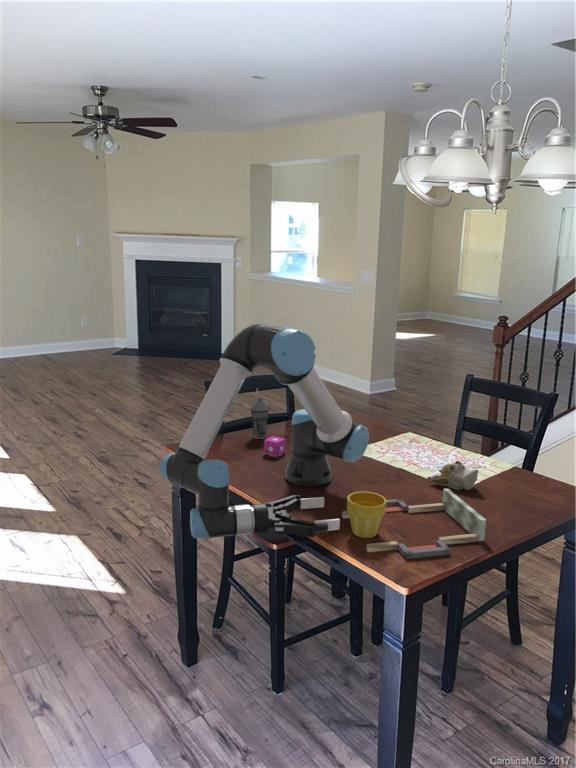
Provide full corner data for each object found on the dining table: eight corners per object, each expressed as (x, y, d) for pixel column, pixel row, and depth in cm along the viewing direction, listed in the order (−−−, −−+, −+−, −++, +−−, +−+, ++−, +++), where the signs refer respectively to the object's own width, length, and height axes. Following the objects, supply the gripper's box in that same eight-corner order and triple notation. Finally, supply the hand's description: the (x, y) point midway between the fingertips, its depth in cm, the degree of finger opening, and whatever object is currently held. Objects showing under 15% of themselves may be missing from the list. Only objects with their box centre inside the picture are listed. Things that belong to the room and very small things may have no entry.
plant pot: (380, 523, 171) (382, 490, 169) (387, 541, 161) (389, 507, 159) (343, 523, 171) (345, 490, 169) (348, 541, 161) (349, 506, 159)
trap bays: (362, 506, 182) (362, 502, 182) (400, 503, 185) (400, 498, 184) (405, 559, 153) (406, 553, 152) (450, 554, 155) (450, 549, 155)
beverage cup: (270, 440, 239) (271, 390, 234) (251, 441, 237) (252, 391, 233) (266, 434, 246) (267, 385, 241) (248, 435, 244) (249, 386, 240)
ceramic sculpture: (472, 469, 189) (426, 461, 198) (471, 496, 191) (426, 486, 200) (484, 460, 198) (440, 452, 207) (483, 486, 199) (439, 477, 208)
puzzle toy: (263, 455, 223) (264, 440, 222) (272, 450, 228) (272, 436, 227) (277, 458, 220) (277, 443, 219) (285, 453, 225) (285, 438, 224)
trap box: (341, 516, 175) (342, 496, 174) (446, 507, 183) (448, 488, 181) (368, 552, 155) (369, 530, 154) (484, 540, 163) (486, 519, 162)
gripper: (243, 511, 170) (317, 506, 175) (260, 556, 146) (345, 548, 151) (243, 486, 168) (318, 481, 173) (261, 527, 145) (347, 520, 150)
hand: (331, 512), depth 162 cm, fingers open, 13 cm apart
